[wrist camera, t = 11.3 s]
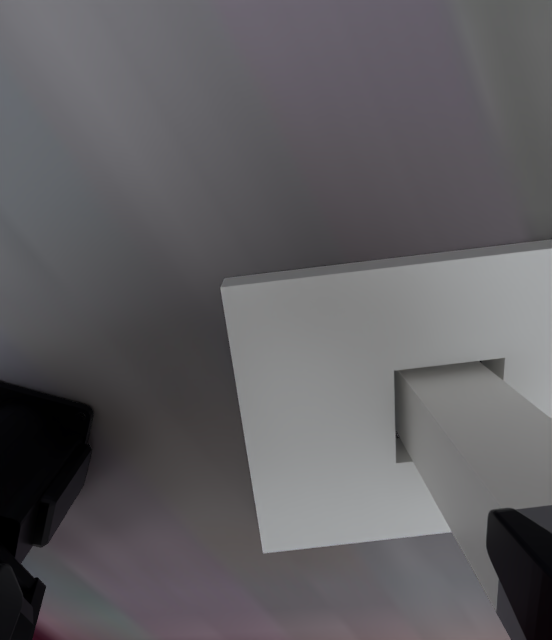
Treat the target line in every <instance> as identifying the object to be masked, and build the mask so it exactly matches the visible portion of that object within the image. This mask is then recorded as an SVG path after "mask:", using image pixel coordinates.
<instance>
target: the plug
mask: <svg viewBox="0 0 552 640" xmlns="http://www.w3.org/2000/svg"><path fill="white" fill-rule="evenodd" d="M394 394H395V430H396V432H397V433H398V435H399V437H400V439H401V441H402V442H403V444H404V446H405V448H406V450H407V452H408V453H409V455H410V457H411V459H412V461H413V462H414V464H415V466H416V468H417V470H418V472H419V473H420V475H421V477H422V479H423V481H424V482H425V484H426V486H427V488H428V490H429V491H430V493H431V495H432V497H433V499H434V501H435V502H436V504H437V506H438V508H439V510H440V511H441V513H442V515H443V517H444V519H445V520H446V522H447V524H448V526H449V528H450V530H451V531H452V533H453V535H454V537H455V539H456V540H457V542H458V544H459V546H460V548H461V550H462V551H463V553H464V555H465V557H466V559H467V560H468V562H469V564H470V566H471V568H472V569H473V571H474V573H475V575H476V577H477V579H478V580H479V582H480V584H481V586H482V588H483V589H484V591H485V593H486V595H487V597H488V599H489V600H490V602H491V604H492V606H493V608H494V609H495V611H496V613H497V615H498V617H499V618H500V620H501V622H502V624H503V626H504V628H505V629H506V631H507V633H508V635H509V637H510V638H511V640H526V638H525V636H524V634H523V632H522V629H521V627H520V625H519V623H518V621H517V618H516V616H515V614H514V612H513V609H512V607H511V605H510V603H509V601H508V598H507V596H506V594H505V592H504V589H503V587H502V585H501V583H500V581H499V578H498V576H497V574H496V572H495V569H494V567H493V565H492V563H491V561H490V558H489V556H488V553H487V549H486V532H487V518H488V513H489V511H490V510H492V509H500V508H513V509H516V510H517V511H519V512H521V513H522V514H524V515H525V516H527V517H528V518H530V519H532V520H533V521H535V522H536V523H538V524H539V525H541V526H542V527H544V528H546V529H547V530H549V531H550V532H552V419H551V418H550V417H549V416H547V415H546V414H545V413H543V412H542V411H541V410H540V409H538V408H537V407H536V406H535V405H533V404H532V403H531V402H530V401H528V400H527V399H526V398H525V397H523V396H522V395H521V394H519V393H518V392H517V391H516V390H514V389H513V388H512V387H511V386H509V385H508V384H507V383H506V382H504V381H503V380H502V379H501V378H499V377H498V376H497V375H496V374H494V373H493V372H492V371H490V370H489V369H488V368H487V367H485V366H484V365H483V364H482V363H480V362H479V361H473V362H465V363H456V364H448V365H439V366H430V367H422V368H413V369H404V370H396V371H394Z"/></svg>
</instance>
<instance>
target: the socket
mask: <svg viewBox="0 0 552 640" xmlns="http://www.w3.org/2000/svg"><path fill="white" fill-rule="evenodd" d="M220 289H221V295H222V301H223V308H224V314H225V320H226V326H227V332H228V339H229V345H230V351H231V357H232V363H233V370H234V376H235V382H236V388H237V394H238V401H239V407H240V413H241V419H242V425H243V432H244V438H245V444H246V450H247V456H248V463H249V469H250V475H251V481H252V487H253V494H254V500H255V506H256V512H257V518H258V524H259V531H260V537H261V543H262V549H263V553H271V552H280V551H289V550H298V549H307V548H315V547H324V546H333V545H342V544H351V543H360V542H368V541H377V540H386V539H395V538H404V537H413V536H421V535H430V534H439V533H448V532H452V531H451V530H450V528H449V526H448V524H447V522H446V520H445V519H444V517H443V515H442V513H441V511H440V510H439V508H438V506H437V504H436V502H435V501H434V499H433V497H432V495H431V493H430V491H429V490H428V488H427V486H426V484H425V482H424V481H423V479H422V477H421V475H420V473H419V472H418V470H417V468H416V466H415V464H414V462H413V461H412V459H411V457H410V455H409V453H408V452H407V450H406V448H405V446H404V444H403V442H402V441H401V439H400V438H397V439H396V437H395V394H394V371H396V370H404V369H413V368H422V367H430V366H439V365H448V364H456V363H465V362H473V361H482V364H483V365H484V366H485V367H487V368H488V369H489V370H490V371H492V372H493V373H494V374H496V375H497V376H498V377H499V378H501V379H502V380H503V381H504V382H506V383H507V384H508V385H509V386H511V387H512V388H513V389H514V390H516V391H517V392H518V393H519V394H521V395H522V396H523V397H525V398H526V399H527V400H528V401H530V402H531V403H532V404H533V405H535V406H536V407H537V408H538V409H540V410H541V411H542V412H543V413H545V414H546V415H547V416H549V417H550V418H551V419H552V239H549V240H541V241H532V242H524V243H515V244H507V245H498V246H490V247H482V248H473V249H465V250H456V251H448V252H439V253H431V254H422V255H414V256H405V257H397V258H388V259H380V260H372V261H363V262H355V263H346V264H338V265H329V266H321V267H312V268H304V269H295V270H287V271H278V272H270V273H262V274H253V275H245V276H236V277H228V278H224V280H223V283H222V285H221V287H220Z"/></svg>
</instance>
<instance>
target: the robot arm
mask: <svg viewBox="0 0 552 640" xmlns="http://www.w3.org/2000/svg"><path fill="white" fill-rule="evenodd" d="M79 413H83V414H84V415H85V417H82V416H80V414H79ZM92 420H93V410H92V408H90V407H89V406H87V405H85V404H81V403H77V402H74V401H70V400H66V399H62V398H59V397H55V396H51V395H47V394H43V393H40V392H36V391H32V390H28V389H25V388H21V387H17V386H13V385H9V384H6V383H2V382H0V640H32V638H33V634H34V630H35V626H36V623H37V619H38V615H39V611H40V607H41V604H42V600H43V596H44V592H45V588H46V586H45V585H44V584H43V583H42V581H41V580H40V579H39V578H37V577H36V578H34V577H33V576H32V575H31V574H30V573H29V572H28V571H27V570H26V569H25V568H24V567H23V566H22V565H21V563H22V561H23V560H24V558H25V557H26V555H27V554H28V552H29V551H30V549H31V548H32V546H36V547H43V546H45V545H46V544H48V543H49V541H50V540H51V538H52V536H53V535H54V533H55V531H56V530H57V528H58V527H59V525H60V523H61V522H62V520H63V518H64V517H65V515H66V513H67V512H68V510H69V509H70V507H71V505H72V504H73V502H74V500H75V499H76V497H77V495H78V494H79V492H80V491H81V489H82V487H83V486H84V483H85V478H86V474H87V470H88V465H89V461H90V457H91V452H92V448H91V446H90V445H89V444H87V442H88V437H89V433H90V428H91V424H92ZM486 549H487V553H488V556H489V558H490V561H491V563H492V565H493V567H494V569H495V572H496V574H497V576H498V578H499V581H500V583H501V585H502V587H503V589H504V592H505V594H506V596H507V598H508V601H509V603H510V605H511V607H512V609H513V612H514V614H515V616H516V618H517V621H518V623H519V625H520V627H521V629H522V632H523V634H524V636H525V638H526V640H552V532H550V531H549V530H547V529H546V528H544V527H542V526H541V525H539V524H538V523H536V522H535V521H533V520H532V519H530V518H528V517H527V516H525V515H524V514H522V513H521V512H519V511H517V510H516V509H513V508H500V509H492V510H490V511H489V513H488V518H487V532H486Z"/></svg>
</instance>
